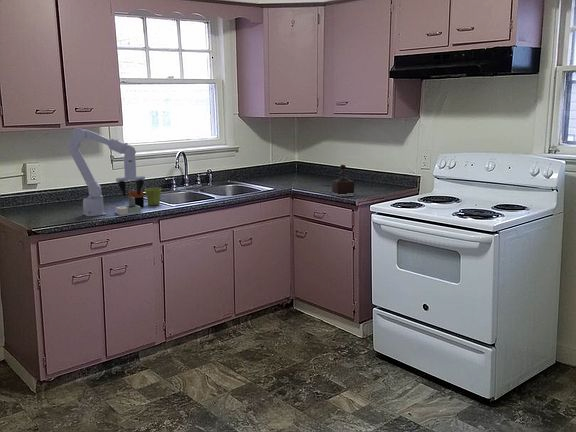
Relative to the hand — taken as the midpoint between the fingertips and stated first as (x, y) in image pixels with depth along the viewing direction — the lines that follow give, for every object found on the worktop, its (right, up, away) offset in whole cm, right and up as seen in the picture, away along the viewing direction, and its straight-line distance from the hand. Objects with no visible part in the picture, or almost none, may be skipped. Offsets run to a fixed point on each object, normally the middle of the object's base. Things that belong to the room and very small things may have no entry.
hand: (131, 195), depth 300 cm
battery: (-1, -6, +15) cm, 17 cm away
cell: (0, -8, +2) cm, 8 cm away
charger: (-2, -9, +1) cm, 9 cm away
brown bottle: (+113, +2, +56) cm, 127 cm away
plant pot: (+6, -5, +24) cm, 25 cm away
